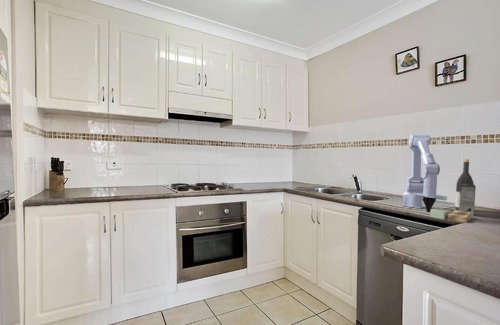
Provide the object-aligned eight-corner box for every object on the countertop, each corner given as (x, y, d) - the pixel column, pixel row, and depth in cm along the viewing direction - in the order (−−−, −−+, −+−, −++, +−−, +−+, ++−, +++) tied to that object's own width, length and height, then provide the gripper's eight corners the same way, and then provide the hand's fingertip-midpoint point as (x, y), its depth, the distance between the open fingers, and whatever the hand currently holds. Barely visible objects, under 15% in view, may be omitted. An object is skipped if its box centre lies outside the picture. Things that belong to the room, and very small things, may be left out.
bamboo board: (447, 219, 127) (447, 214, 127) (454, 214, 137) (454, 210, 137) (465, 222, 122) (465, 217, 122) (471, 217, 132) (471, 212, 132)
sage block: (430, 217, 132) (430, 209, 132) (436, 215, 136) (437, 207, 136) (443, 219, 127) (444, 211, 127) (450, 217, 131) (450, 210, 131)
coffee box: (458, 211, 146) (460, 183, 146) (473, 213, 142) (475, 184, 142) (458, 214, 139) (460, 184, 139) (474, 216, 135) (475, 185, 135)
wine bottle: (456, 210, 150) (459, 159, 149) (453, 207, 157) (456, 159, 156) (474, 212, 146) (477, 159, 145) (470, 209, 153) (473, 159, 152)
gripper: (411, 185, 138) (410, 210, 139) (445, 188, 128) (443, 215, 128) (416, 184, 143) (414, 208, 144) (448, 187, 132) (446, 213, 133)
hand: (428, 211), depth 136 cm, fingers closed
